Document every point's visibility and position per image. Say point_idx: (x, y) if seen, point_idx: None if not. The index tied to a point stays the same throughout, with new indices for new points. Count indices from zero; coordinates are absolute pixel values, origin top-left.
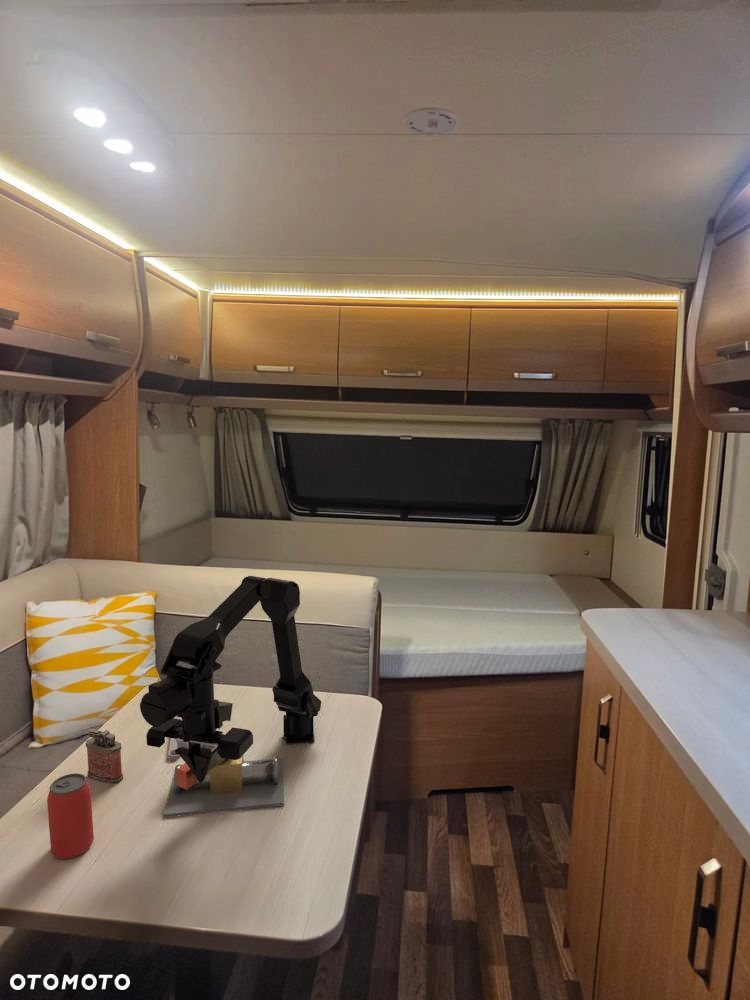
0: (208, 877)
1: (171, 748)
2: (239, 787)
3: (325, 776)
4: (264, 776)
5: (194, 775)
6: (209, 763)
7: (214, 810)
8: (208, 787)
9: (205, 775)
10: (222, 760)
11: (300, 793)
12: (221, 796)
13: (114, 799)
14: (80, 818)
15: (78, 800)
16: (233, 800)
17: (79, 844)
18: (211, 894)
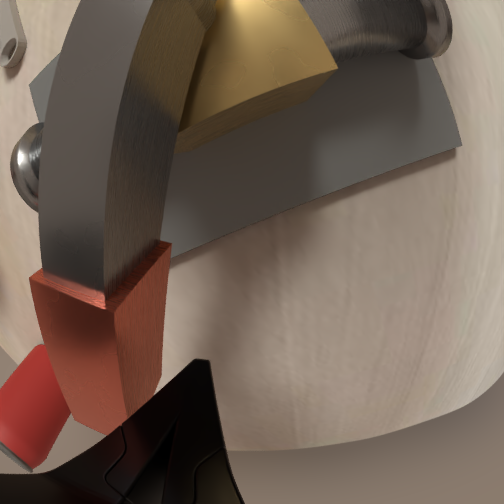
0: (338, 399)
1: (1, 43)
2: (298, 101)
3: (486, 19)
4: (393, 48)
5: (147, 374)
6: (223, 439)
7: (250, 224)
8: None
9: (212, 378)
10: (187, 91)
11: (473, 84)
12: (236, 147)
13: (5, 246)
14: (57, 432)
15: (42, 459)
16: (297, 159)
17: None
18: (354, 416)
